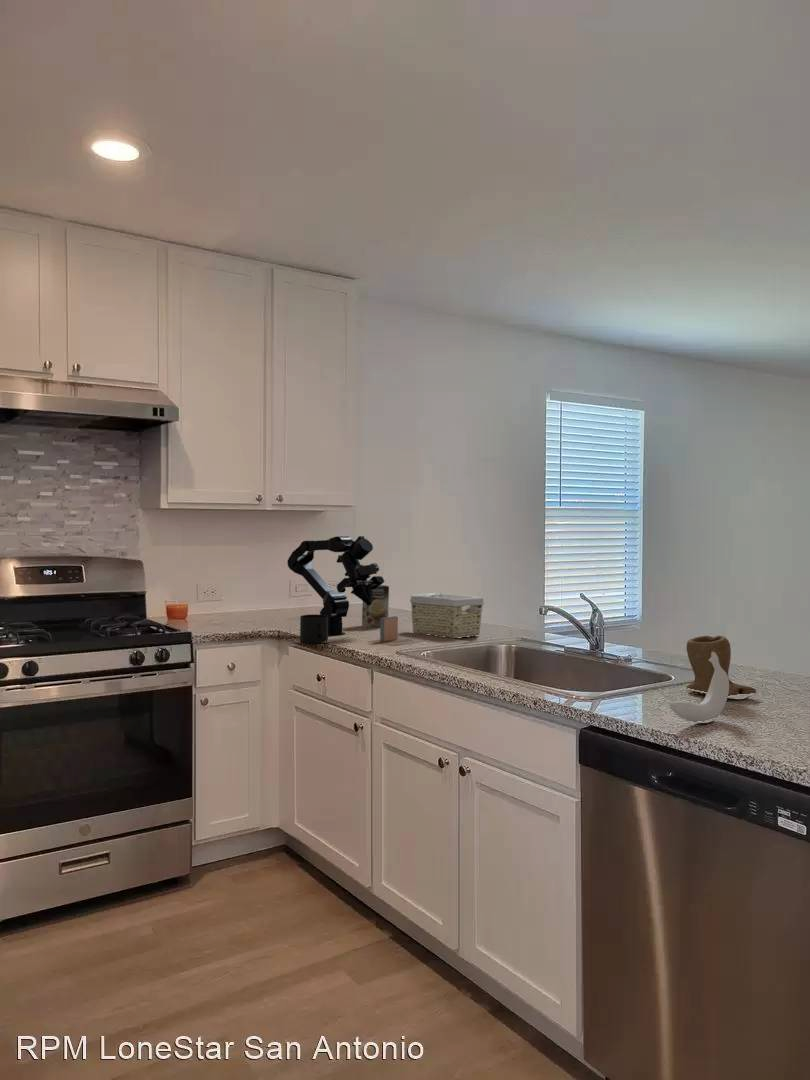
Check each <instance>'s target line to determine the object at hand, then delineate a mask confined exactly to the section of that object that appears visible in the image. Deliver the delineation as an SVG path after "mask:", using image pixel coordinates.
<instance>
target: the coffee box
mask: <svg viewBox="0 0 810 1080" xmlns="http://www.w3.org/2000/svg"><path fill="white" fill-rule="evenodd" d="M389 592H390V586H389V585H383V584H381V585H380V586H379V587H378V588H377V589H375V590H371V601H372V604H371V605H367V604H366V603H365V602H364V601H362V608H361V609H362V613H361V614H362V615H361V626H362V625H363V626H362V627H364V626H365V628H380V618H384V617H389V603H390V602H389V600H390V599H389V598H390V593H389Z"/></svg>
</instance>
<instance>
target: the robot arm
mask: <svg viewBox="0 0 810 1080" xmlns="http://www.w3.org/2000/svg"><path fill="white" fill-rule="evenodd" d="M373 546H374V545H373V544H372V542H370V541H369V540H368V539H367V538H365V536H364V535H359V536H358V537H357V538H356V540H353V539H352V537H351V536H347V535H345V536H343V535H341V536H339V535H338V536H333V537H330V538H328V539H325V540H324V539H323V540H303V541H302V542H301V543H300V545H299V546H297V548H295V549H294V550H293V551H292V552H291V553H290V555H289V557H288V558H287V567H288V568H289V570H290V571H292V572H293V573H295V574H297V575H300V576H301V577H302V578H304V580H305V581H306V582H307V583H308V584H309V586H311V588H312V589H313V590H314V591H315V592H316V594H318V596H319V597H320V598H321V599H322V606H323V608H321V610H320V611H319V615H327V616H328V636H338V635H346V632H343V618H344V617H347V615H348V611H349V607H350V601H349V599H348V596H346V595H345V594H344V593H346V590H347V588H351V589H352V590H351V591H350V594H352V595H354V596H355V597H357V598H358V599H360V600H361V601H362V602H363V601H364V602H365V603H366V604H367V605H371V604H372V601H371V590H375V589H377V588H378V587H379V586H380V585H383V584H384V583H385V580H384V577H383V576H381V575H377V574H378V572H379V571H380V567H379V565H378V563H377V562H372V563H369V564H365V565H364V564H361V562H360V561H361V560H363V559H364V558H365V557H367V556H368V555H369V554H370V553H371V552H372V551H373V550H374V547H373ZM315 551H330V552H333V553H342V554H339V555H338V556H337V559H336V563H338V564H339V563H342V566H343V568H344V570H345V573H344V576H345V577H344V578H343V579H341V581H339V583H337V584H336V590H333V589H332V588H331V586H329V584H328V583H327V582H326V581H325V580H324V579H323V578H322V577H321V575H320V574H319V573H318V572H317V571H316V570H315V569H314V567H313V566H314V565H313V560H314V558H315V557H314V556H315ZM306 552H307V553H306ZM305 553H306V554H305ZM374 574H375V575H374ZM371 575H373V576H371ZM369 578H370V579H369Z"/></svg>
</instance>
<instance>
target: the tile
mask: <svg viewBox="0 0 810 1080" xmlns="http://www.w3.org/2000/svg"><path fill="white" fill-rule="evenodd" d="M398 621H399V617H398V616H388V617H384V618H380V627H379V628H380V630H379V631H380V632H379V633H380V634H379V638H380V639H379V640H380V641H381V642H386V641H392V640H397V637H398V635H399V634H398V632H399V631H398V630H399V629H398V628H399V627H398V626H399V625H398V624H399V623H398Z"/></svg>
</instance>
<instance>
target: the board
mask: <svg viewBox="0 0 810 1080" xmlns="http://www.w3.org/2000/svg"><path fill="white" fill-rule="evenodd" d="M366 643H370V644H371V643H372V644H379V645H383V646H390V647H399V646H405V645H412V644H417V643H418V644H419V643H424V641H422V640H418V639H417V640H416V639H410V638H403V637H398V636H397V640H392V641H386V642H381V641H380V639H376V640H375V639H374V640H367V641H366Z"/></svg>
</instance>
